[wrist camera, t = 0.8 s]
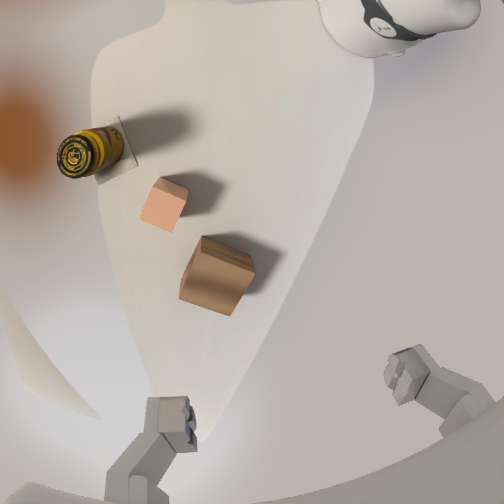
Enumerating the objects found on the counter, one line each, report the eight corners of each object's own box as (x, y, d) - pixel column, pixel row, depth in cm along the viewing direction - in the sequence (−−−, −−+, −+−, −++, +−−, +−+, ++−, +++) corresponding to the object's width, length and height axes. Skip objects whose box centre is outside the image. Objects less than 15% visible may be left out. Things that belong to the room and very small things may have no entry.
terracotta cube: (160, 176, 41) (152, 186, 36) (189, 190, 42) (186, 201, 37) (147, 205, 42) (139, 218, 37) (176, 217, 44) (171, 232, 39)
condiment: (118, 116, 35) (86, 117, 25) (138, 165, 39) (113, 183, 29) (79, 137, 36) (40, 148, 25) (99, 184, 40) (66, 209, 29)
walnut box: (201, 235, 46) (200, 252, 41) (250, 255, 49) (255, 273, 44) (181, 278, 49) (178, 298, 44) (227, 295, 52) (229, 316, 47)
